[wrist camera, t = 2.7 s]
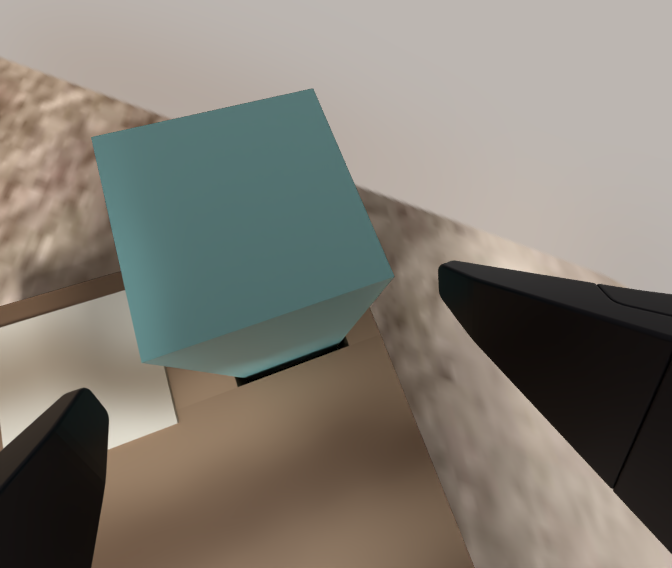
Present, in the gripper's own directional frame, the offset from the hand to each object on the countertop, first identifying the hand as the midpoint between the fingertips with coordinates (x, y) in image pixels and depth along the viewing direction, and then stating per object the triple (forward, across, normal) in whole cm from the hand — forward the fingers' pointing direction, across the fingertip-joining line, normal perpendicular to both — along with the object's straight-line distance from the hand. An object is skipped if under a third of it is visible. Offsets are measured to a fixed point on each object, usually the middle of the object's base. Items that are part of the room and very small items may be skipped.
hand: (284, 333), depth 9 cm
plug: (+8, 0, +5) cm, 10 cm away
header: (+5, +4, +8) cm, 10 cm away
